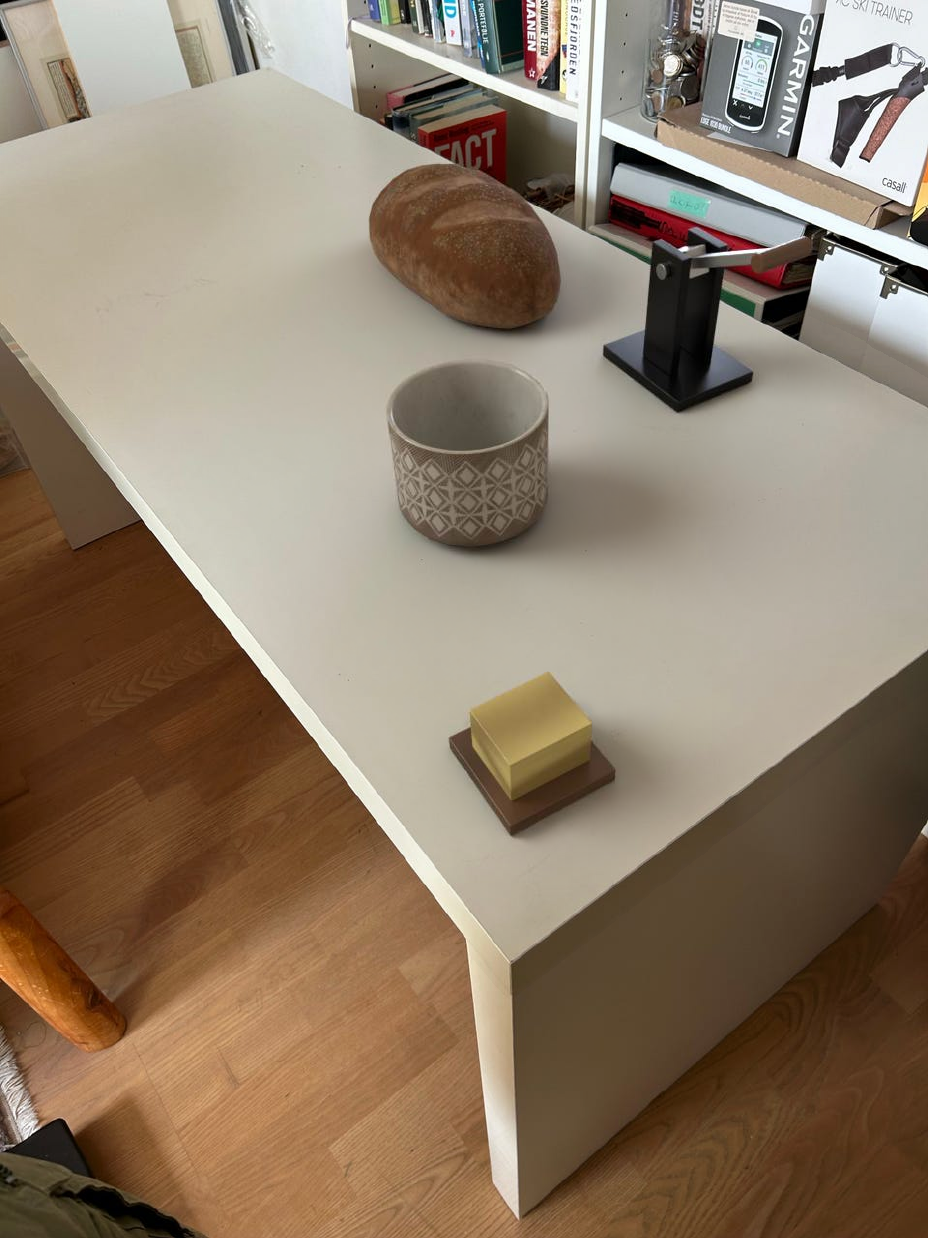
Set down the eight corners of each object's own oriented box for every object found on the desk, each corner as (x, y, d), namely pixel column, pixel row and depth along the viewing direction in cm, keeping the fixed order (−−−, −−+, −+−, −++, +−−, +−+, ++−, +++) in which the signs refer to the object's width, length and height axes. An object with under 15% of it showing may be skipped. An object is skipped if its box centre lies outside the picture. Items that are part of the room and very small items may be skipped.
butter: (615, 780, 63) (620, 732, 59) (510, 836, 61) (508, 791, 57) (548, 698, 68) (549, 650, 64) (449, 747, 66) (443, 700, 62)
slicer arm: (814, 260, 77) (811, 229, 76) (766, 279, 76) (761, 247, 75) (702, 268, 89) (697, 241, 88) (658, 284, 88) (653, 257, 87)
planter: (440, 447, 88) (431, 346, 81) (569, 479, 84) (572, 376, 77) (373, 533, 81) (356, 431, 73) (512, 572, 77) (508, 469, 69)
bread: (472, 356, 99) (466, 249, 90) (342, 250, 116) (327, 153, 108) (595, 307, 104) (599, 202, 95) (453, 213, 121) (446, 117, 113)
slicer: (752, 382, 93) (775, 254, 83) (677, 413, 90) (692, 284, 81) (674, 328, 100) (687, 205, 91) (602, 355, 97) (608, 232, 88)
